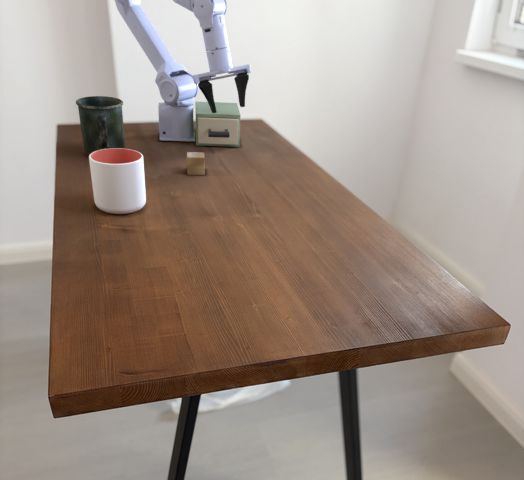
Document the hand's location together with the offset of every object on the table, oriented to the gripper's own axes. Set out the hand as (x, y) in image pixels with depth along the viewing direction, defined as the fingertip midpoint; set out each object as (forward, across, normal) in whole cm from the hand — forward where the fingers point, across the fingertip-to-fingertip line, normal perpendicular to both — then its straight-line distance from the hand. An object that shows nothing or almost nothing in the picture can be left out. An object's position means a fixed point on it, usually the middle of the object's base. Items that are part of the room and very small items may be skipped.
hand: (228, 109), depth 139 cm
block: (+10, -15, -14) cm, 23 cm away
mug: (+4, -33, +1) cm, 33 cm away
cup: (+11, -34, -32) cm, 48 cm away
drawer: (+7, -3, +7) cm, 10 cm away
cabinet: (+8, -2, +11) cm, 14 cm away
